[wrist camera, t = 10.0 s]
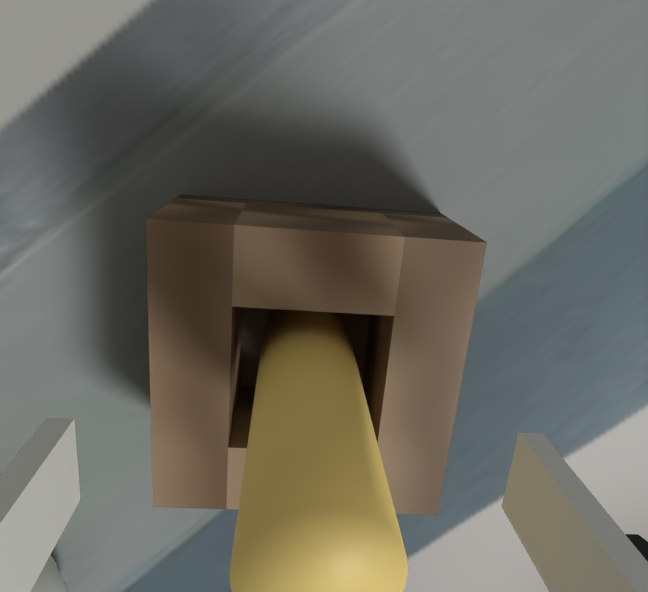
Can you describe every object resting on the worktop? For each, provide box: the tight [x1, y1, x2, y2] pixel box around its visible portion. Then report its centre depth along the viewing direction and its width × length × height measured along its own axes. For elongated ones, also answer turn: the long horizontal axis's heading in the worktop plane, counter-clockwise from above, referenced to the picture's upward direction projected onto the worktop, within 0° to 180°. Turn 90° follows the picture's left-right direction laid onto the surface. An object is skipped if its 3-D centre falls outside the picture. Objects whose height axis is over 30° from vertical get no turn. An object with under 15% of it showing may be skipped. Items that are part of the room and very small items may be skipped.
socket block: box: [146, 195, 487, 515], centre depth 23 cm, size 12×12×6 cm
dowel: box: [229, 309, 408, 592], centre depth 18 cm, size 4×4×14 cm
